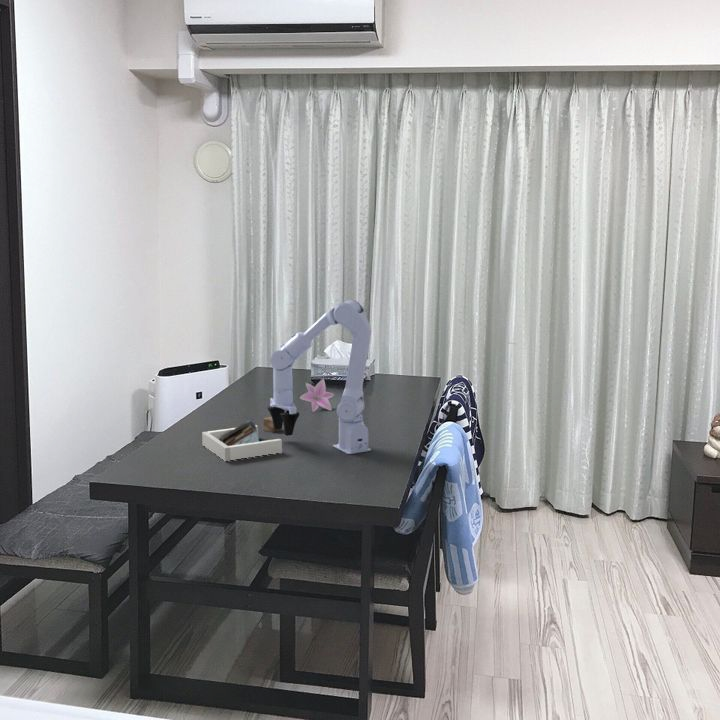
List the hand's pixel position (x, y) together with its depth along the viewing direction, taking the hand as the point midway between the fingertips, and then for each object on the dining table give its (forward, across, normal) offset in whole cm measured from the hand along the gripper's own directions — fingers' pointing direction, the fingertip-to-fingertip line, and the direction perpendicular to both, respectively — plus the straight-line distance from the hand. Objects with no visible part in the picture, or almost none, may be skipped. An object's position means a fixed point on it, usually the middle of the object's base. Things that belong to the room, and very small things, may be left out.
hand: (283, 432), depth 257 cm
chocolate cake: (+4, -4, -12) cm, 13 cm away
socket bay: (+3, 0, -13) cm, 13 cm away
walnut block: (+3, -15, +3) cm, 16 cm away
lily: (+4, -33, +28) cm, 44 cm away
